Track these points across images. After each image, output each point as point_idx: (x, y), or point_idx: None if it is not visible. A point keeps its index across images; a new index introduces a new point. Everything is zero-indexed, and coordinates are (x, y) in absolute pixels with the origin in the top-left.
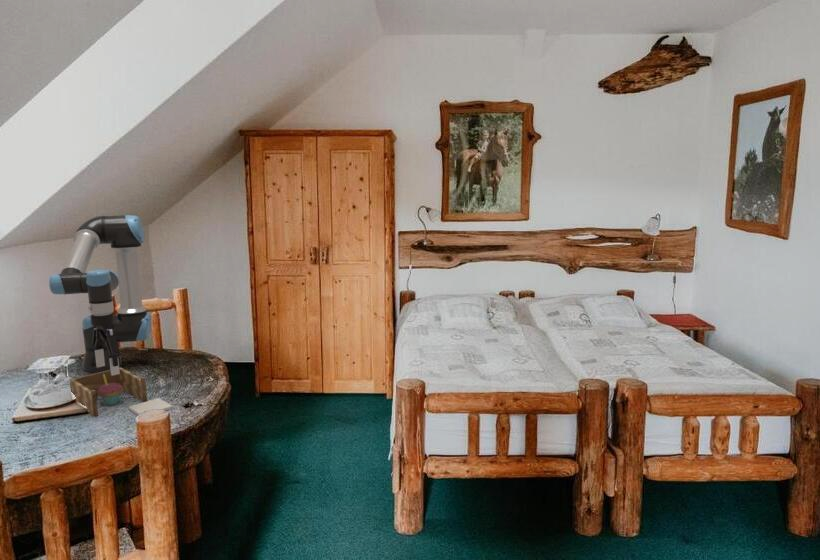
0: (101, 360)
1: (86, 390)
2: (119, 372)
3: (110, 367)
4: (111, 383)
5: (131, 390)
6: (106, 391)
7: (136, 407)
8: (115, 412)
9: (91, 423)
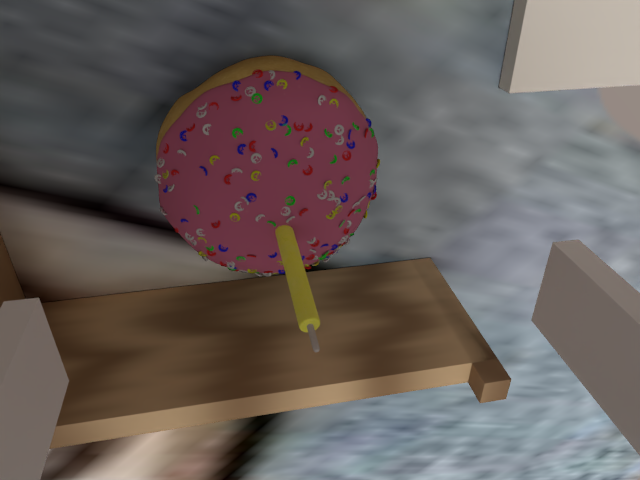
0: (21, 407)
1: (367, 395)
2: (589, 251)
3: (601, 395)
4: (264, 187)
5: None
6: (348, 235)
7: (573, 53)
8: (468, 170)
9: (498, 301)
